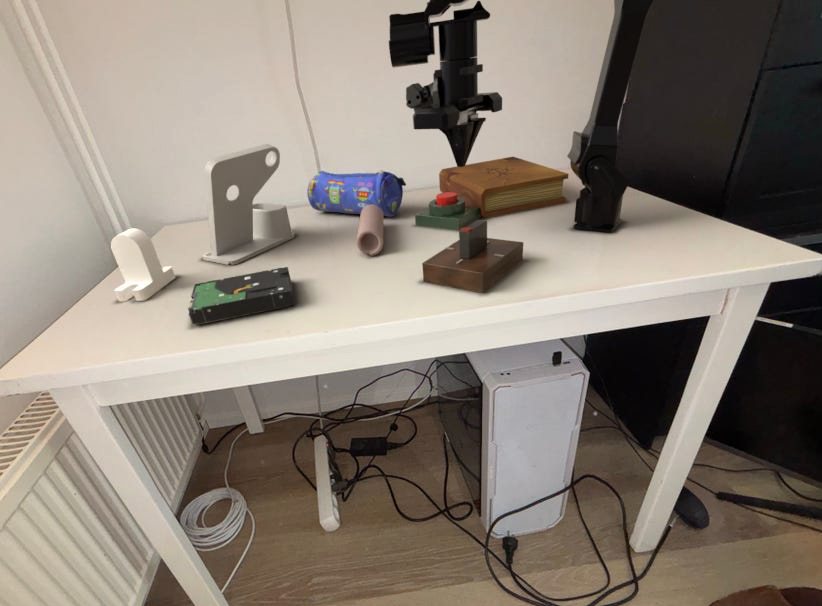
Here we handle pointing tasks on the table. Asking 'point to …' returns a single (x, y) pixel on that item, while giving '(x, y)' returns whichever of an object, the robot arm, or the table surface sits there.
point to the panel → (473, 265)
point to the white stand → (138, 266)
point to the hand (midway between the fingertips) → (461, 166)
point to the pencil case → (356, 192)
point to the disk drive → (240, 295)
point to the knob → (473, 239)
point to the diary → (504, 185)
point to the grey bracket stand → (243, 206)
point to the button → (446, 198)
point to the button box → (448, 215)
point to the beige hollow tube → (370, 230)
